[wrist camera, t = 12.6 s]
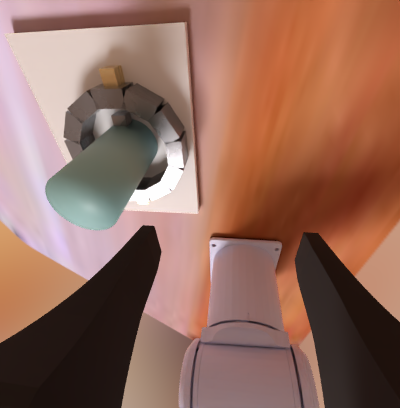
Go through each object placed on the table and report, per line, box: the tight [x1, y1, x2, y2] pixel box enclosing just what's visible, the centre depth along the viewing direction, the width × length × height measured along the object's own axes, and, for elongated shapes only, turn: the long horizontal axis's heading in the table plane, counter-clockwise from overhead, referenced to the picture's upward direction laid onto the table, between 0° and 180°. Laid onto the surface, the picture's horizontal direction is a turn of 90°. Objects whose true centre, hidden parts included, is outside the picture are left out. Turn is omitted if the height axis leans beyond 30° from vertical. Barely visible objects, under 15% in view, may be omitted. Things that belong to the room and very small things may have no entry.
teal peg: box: [45, 111, 158, 230], centre depth 15 cm, size 4×5×8 cm
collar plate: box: [4, 22, 199, 214], centre depth 18 cm, size 15×12×3 cm
